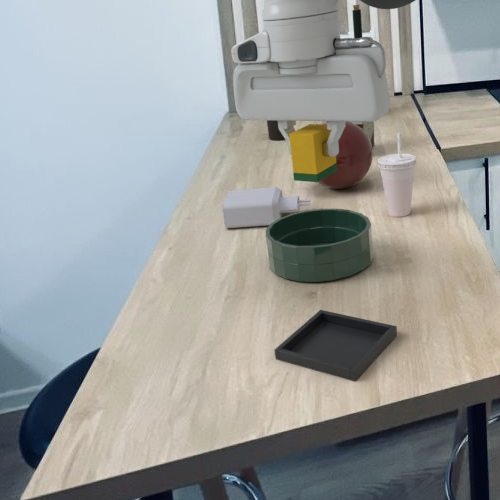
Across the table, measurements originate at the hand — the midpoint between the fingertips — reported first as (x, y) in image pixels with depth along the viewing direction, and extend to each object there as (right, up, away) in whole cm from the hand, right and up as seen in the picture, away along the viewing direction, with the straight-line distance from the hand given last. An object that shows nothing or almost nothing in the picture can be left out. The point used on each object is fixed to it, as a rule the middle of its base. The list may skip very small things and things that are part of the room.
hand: (313, 154), depth 83 cm
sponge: (0, -2, +1) cm, 3 cm away
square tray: (+2, -24, -8) cm, 25 cm away
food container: (+17, +11, +70) cm, 73 cm away
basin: (+3, -14, +15) cm, 21 cm away
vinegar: (0, +18, +93) cm, 95 cm away
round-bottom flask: (+10, 0, +47) cm, 49 cm away
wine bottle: (+24, +26, +104) cm, 109 cm away
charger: (-4, -6, +36) cm, 37 cm away
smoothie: (+18, -6, +30) cm, 36 cm away
